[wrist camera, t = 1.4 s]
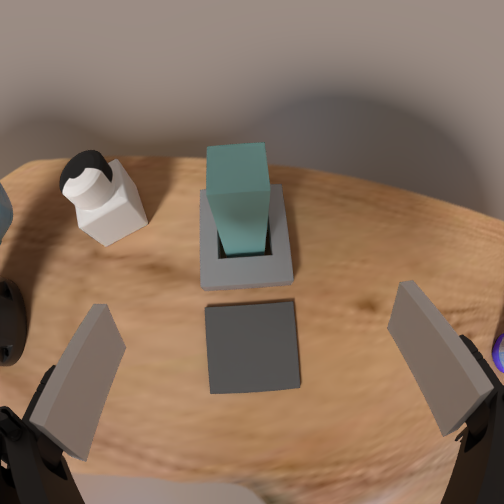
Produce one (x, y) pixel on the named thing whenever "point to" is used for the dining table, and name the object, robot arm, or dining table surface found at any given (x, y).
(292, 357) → the mat
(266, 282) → the socket block
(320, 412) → the dining table surface
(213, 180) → the plug
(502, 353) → the bottle
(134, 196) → the medicine bottle
